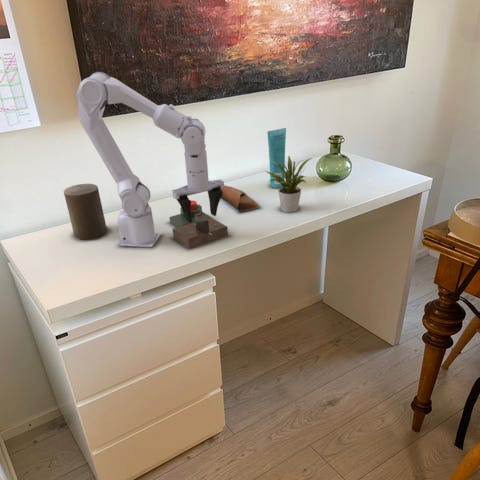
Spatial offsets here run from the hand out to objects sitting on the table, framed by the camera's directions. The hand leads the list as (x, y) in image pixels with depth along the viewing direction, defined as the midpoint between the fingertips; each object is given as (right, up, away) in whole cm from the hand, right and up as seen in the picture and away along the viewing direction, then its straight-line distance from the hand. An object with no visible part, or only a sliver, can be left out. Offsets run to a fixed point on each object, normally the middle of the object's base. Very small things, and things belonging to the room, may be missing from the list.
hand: (201, 217), depth 139 cm
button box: (-4, +1, +14) cm, 14 cm away
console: (-1, -5, +5) cm, 7 cm away
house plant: (+27, +7, +20) cm, 35 cm away
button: (-4, +5, +13) cm, 15 cm away
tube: (+24, +19, +37) cm, 48 cm away
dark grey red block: (0, -3, +2) cm, 3 cm away
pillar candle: (-34, -3, +11) cm, 36 cm away
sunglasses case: (+10, +11, +26) cm, 30 cm away
